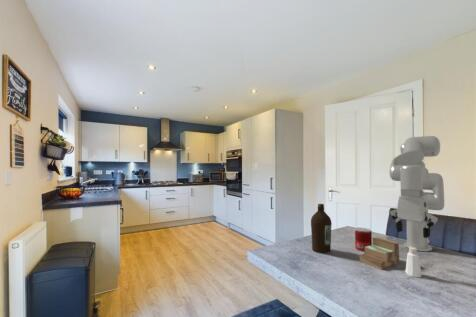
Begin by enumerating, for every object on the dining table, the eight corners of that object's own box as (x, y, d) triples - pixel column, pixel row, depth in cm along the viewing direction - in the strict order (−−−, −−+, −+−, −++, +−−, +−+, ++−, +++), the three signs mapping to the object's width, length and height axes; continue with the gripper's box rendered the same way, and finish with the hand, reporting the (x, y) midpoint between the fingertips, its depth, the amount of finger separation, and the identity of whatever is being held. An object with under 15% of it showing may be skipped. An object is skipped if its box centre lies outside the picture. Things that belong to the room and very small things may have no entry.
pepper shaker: (414, 271, 99) (413, 245, 99) (425, 277, 93) (424, 250, 94) (402, 271, 99) (401, 245, 99) (412, 277, 93) (411, 250, 94)
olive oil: (307, 250, 123) (307, 203, 125) (316, 245, 131) (316, 202, 132) (326, 255, 116) (325, 206, 117) (335, 250, 123) (334, 204, 124)
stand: (377, 255, 116) (377, 236, 117) (400, 263, 107) (400, 243, 107) (359, 261, 109) (359, 241, 109) (382, 270, 100) (382, 248, 100)
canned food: (374, 252, 121) (373, 231, 121) (357, 251, 122) (357, 230, 123) (368, 247, 128) (368, 227, 129) (353, 246, 130) (353, 227, 130)
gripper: (440, 195, 92) (442, 238, 91) (394, 191, 107) (394, 228, 106) (432, 196, 88) (433, 241, 87) (385, 192, 103) (386, 230, 102)
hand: (412, 234), depth 96 cm, fingers open, 9 cm apart
